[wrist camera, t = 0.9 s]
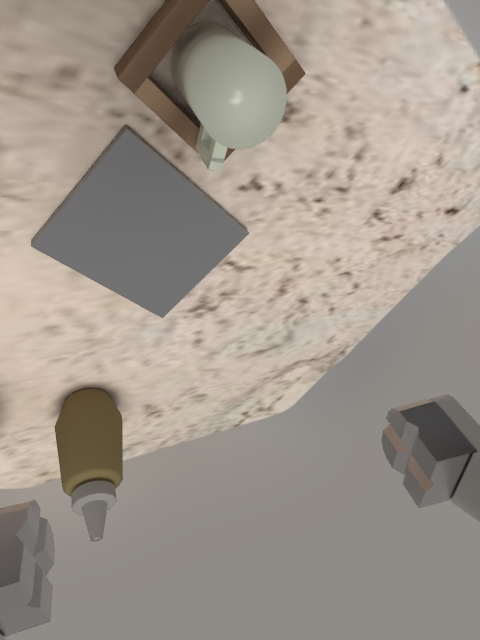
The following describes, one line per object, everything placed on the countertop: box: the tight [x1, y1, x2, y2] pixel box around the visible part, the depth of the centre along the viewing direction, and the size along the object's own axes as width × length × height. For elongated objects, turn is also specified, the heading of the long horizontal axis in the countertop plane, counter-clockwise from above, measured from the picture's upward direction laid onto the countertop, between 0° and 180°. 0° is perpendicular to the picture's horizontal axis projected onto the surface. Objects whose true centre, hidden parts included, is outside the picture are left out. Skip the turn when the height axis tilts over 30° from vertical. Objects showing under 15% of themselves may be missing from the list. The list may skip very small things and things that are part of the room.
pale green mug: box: [171, 22, 287, 172], centre depth 33 cm, size 8×6×10 cm
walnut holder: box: [114, 0, 306, 161], centre depth 35 cm, size 10×10×3 cm
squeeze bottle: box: [55, 388, 123, 541], centre depth 51 cm, size 8×8×18 cm
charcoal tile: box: [31, 125, 249, 318], centre depth 44 cm, size 16×14×1 cm
